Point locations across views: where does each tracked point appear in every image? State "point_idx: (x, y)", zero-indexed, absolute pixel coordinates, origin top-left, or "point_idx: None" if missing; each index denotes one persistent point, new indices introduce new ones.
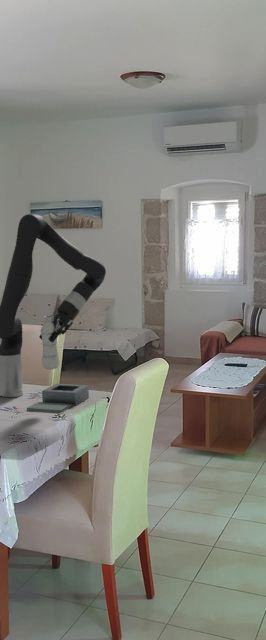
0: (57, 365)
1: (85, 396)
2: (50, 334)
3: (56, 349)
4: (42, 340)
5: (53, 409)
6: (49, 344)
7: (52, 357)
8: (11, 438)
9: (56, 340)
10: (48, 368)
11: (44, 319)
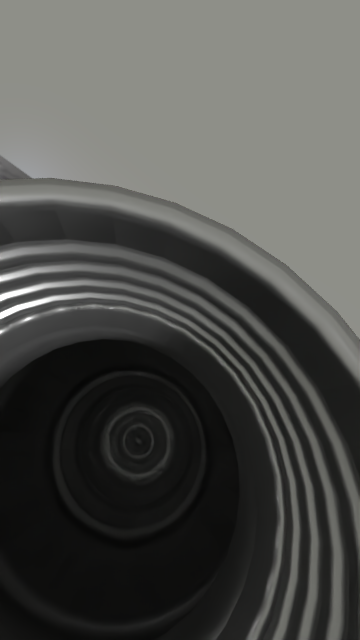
0: (84, 455)
1: None
2: (17, 376)
3: (73, 476)
4: (169, 368)
5: None
6: (78, 390)
7: (85, 418)
8: (12, 178)
9: (46, 499)
10: (117, 401)
11: (142, 270)
